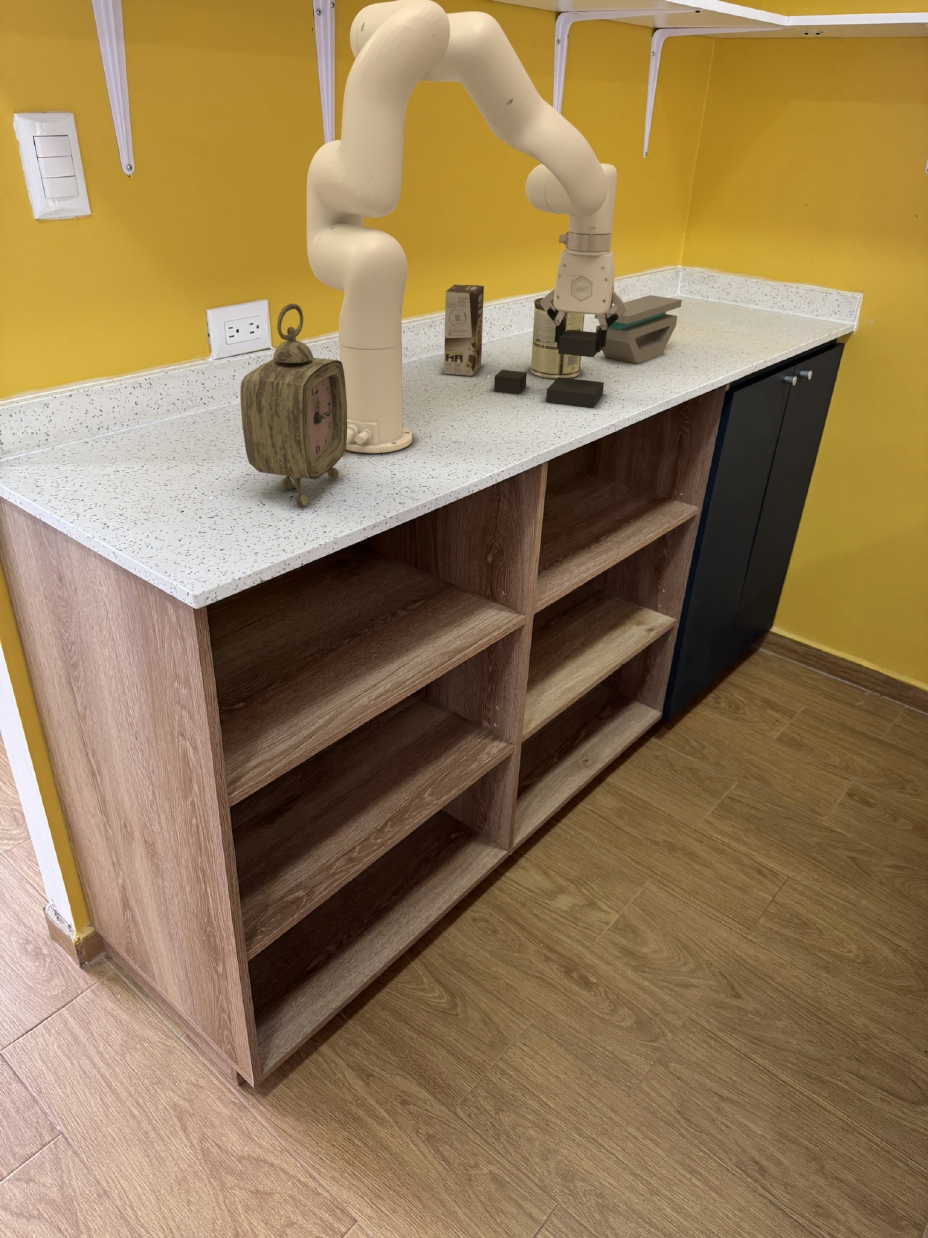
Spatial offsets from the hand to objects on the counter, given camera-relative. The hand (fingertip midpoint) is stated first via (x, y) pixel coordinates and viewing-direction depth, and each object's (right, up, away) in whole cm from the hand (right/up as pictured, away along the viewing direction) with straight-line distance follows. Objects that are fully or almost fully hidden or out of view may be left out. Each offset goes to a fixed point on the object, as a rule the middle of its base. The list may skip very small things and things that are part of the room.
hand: (579, 347), depth 161 cm
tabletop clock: (-44, -32, -38) cm, 66 cm away
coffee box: (-21, +2, +21) cm, 30 cm away
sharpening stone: (+17, +9, +35) cm, 39 cm away
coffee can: (-2, +1, +21) cm, 21 cm away
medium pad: (0, -1, 0) cm, 1 cm away
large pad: (0, -8, +5) cm, 9 cm away
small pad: (-12, -5, +9) cm, 16 cm away
